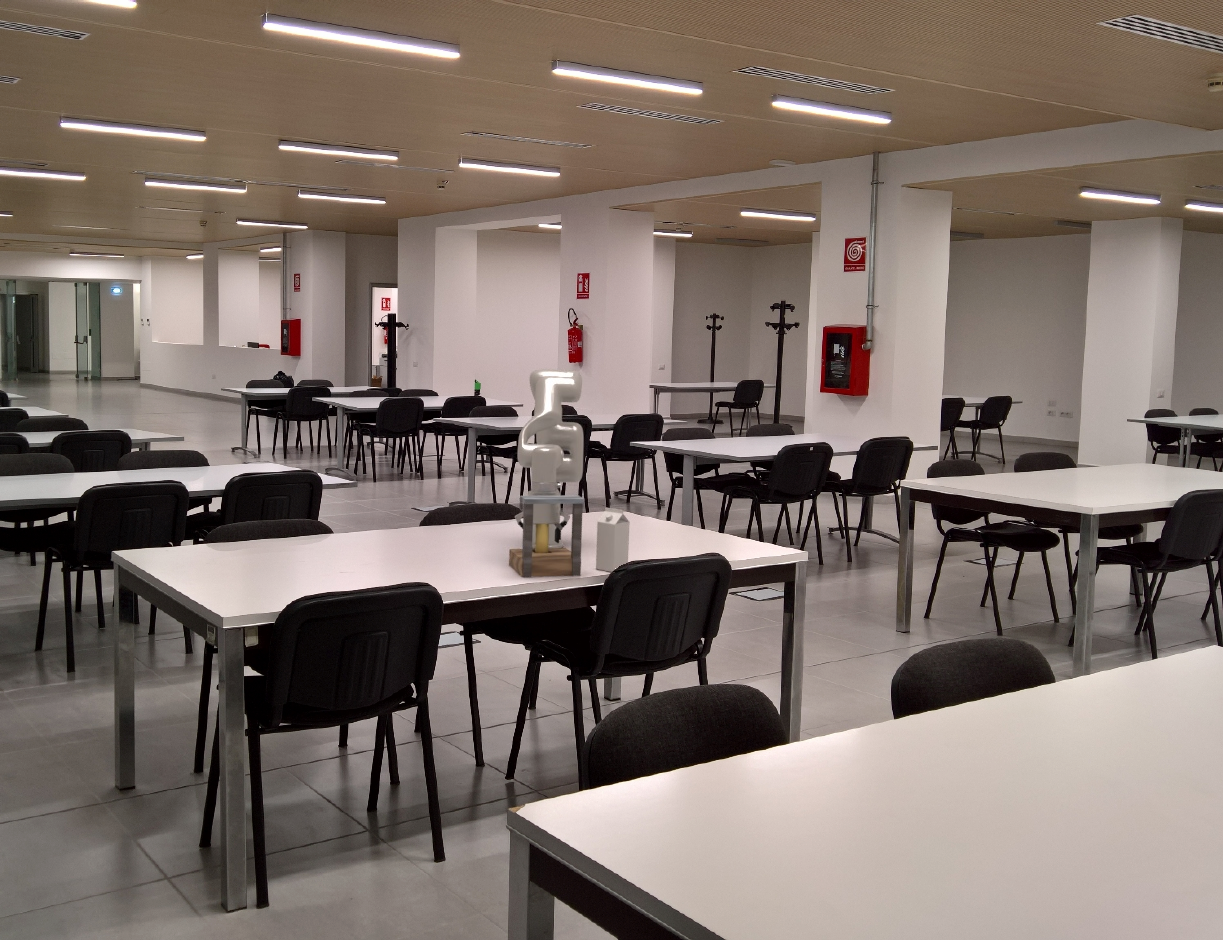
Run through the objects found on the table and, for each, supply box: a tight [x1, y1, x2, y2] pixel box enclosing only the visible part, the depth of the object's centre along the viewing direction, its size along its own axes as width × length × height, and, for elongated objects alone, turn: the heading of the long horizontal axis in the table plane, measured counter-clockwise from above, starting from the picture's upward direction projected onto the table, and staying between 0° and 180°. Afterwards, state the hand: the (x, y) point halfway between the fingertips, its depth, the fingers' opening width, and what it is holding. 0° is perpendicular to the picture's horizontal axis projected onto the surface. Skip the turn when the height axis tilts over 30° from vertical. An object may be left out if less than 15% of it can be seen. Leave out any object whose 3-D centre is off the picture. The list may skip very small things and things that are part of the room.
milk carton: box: [595, 507, 631, 573], centre depth 346 cm, size 7×7×19 cm
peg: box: [535, 524, 549, 553], centre depth 345 cm, size 4×4×14 cm
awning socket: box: [508, 494, 585, 578], centre depth 340 cm, size 20×18×23 cm
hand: (541, 542), depth 345 cm, fingers open, 9 cm apart
